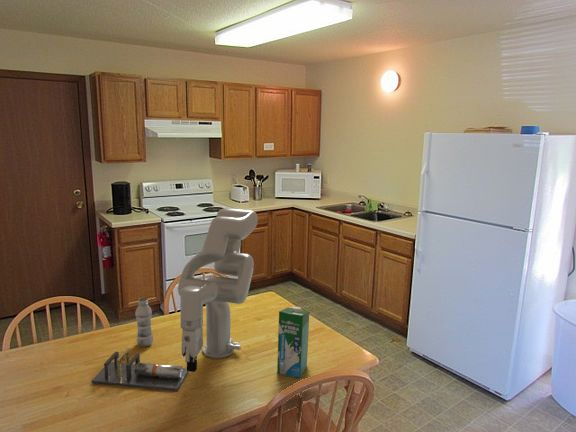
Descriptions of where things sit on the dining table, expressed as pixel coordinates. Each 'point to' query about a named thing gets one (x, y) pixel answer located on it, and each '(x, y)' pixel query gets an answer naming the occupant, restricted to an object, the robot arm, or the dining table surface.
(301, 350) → the milk carton
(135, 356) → the collar
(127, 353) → the aperture bridge
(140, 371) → the tube
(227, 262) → the robot arm
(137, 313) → the plastic bottle
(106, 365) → the collar
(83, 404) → the dining table surface
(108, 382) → the plate
